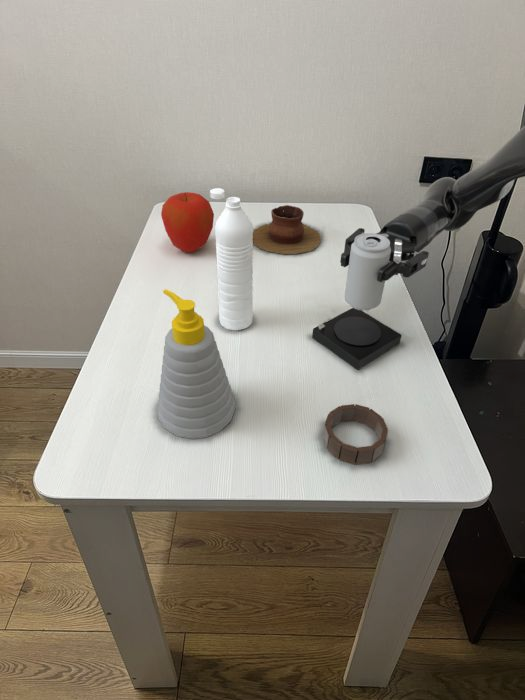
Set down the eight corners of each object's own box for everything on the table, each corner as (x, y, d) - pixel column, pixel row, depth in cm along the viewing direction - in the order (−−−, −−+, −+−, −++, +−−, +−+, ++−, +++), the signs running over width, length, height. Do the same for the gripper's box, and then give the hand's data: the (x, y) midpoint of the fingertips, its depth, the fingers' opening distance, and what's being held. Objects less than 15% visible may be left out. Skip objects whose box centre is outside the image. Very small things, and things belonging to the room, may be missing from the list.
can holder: (396, 443, 73) (400, 430, 72) (355, 474, 69) (358, 461, 67) (351, 409, 79) (354, 395, 77) (311, 436, 74) (313, 423, 72)
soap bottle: (204, 371, 85) (195, 269, 72) (251, 411, 78) (251, 306, 65) (142, 406, 78) (120, 301, 65) (188, 453, 71) (174, 346, 58)
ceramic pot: (261, 218, 132) (262, 192, 127) (326, 227, 128) (329, 201, 124) (241, 249, 118) (241, 222, 114) (313, 260, 115) (316, 232, 110)
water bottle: (259, 322, 96) (261, 199, 80) (233, 335, 93) (230, 210, 77) (231, 302, 101) (227, 184, 85) (205, 315, 98) (197, 193, 82)
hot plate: (399, 344, 92) (402, 331, 90) (357, 370, 86) (360, 357, 84) (353, 315, 98) (355, 303, 96) (311, 337, 93) (313, 325, 91)
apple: (208, 263, 113) (204, 205, 104) (158, 259, 114) (150, 201, 105) (220, 239, 122) (218, 183, 113) (174, 234, 124) (168, 179, 115)
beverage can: (384, 297, 87) (396, 236, 79) (374, 316, 83) (387, 254, 75) (349, 288, 89) (358, 228, 81) (338, 307, 85) (347, 245, 77)
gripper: (378, 202, 90) (326, 234, 81) (452, 226, 83) (405, 264, 74) (372, 239, 95) (322, 273, 86) (441, 264, 88) (396, 305, 79)
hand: (361, 269), depth 80 cm, fingers closed on beverage can, 6 cm apart
